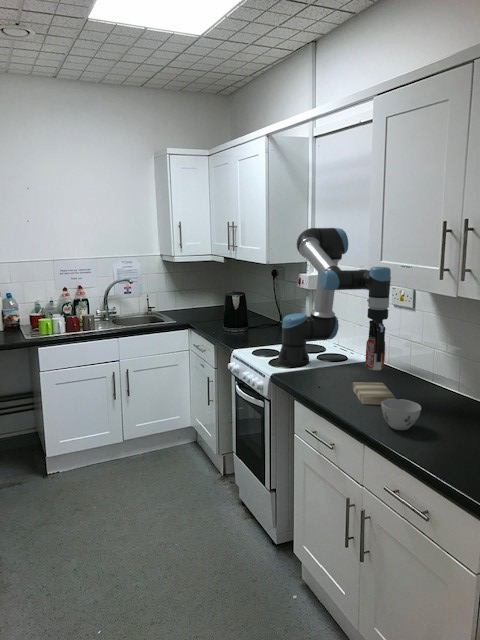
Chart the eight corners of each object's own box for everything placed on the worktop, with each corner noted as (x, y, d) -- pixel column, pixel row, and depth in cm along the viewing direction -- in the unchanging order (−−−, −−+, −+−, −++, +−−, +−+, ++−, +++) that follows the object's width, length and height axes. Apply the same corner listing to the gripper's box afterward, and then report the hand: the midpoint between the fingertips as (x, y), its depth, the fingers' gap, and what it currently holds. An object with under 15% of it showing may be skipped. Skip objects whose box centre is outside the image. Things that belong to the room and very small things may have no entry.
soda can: (384, 371, 189) (386, 340, 186) (365, 370, 190) (367, 339, 188) (383, 366, 195) (385, 336, 193) (364, 365, 197) (366, 335, 195)
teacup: (427, 432, 161) (429, 409, 160) (393, 436, 158) (394, 412, 157) (401, 415, 176) (403, 394, 174) (369, 418, 173) (370, 396, 171)
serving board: (352, 389, 203) (352, 382, 203) (382, 389, 203) (382, 382, 203) (362, 404, 187) (362, 396, 186) (394, 404, 187) (395, 396, 186)
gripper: (362, 304, 198) (359, 360, 202) (375, 312, 179) (371, 374, 183) (380, 304, 198) (377, 360, 202) (396, 312, 179) (392, 374, 183)
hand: (374, 366), depth 193 cm, fingers closed on soda can, 7 cm apart
